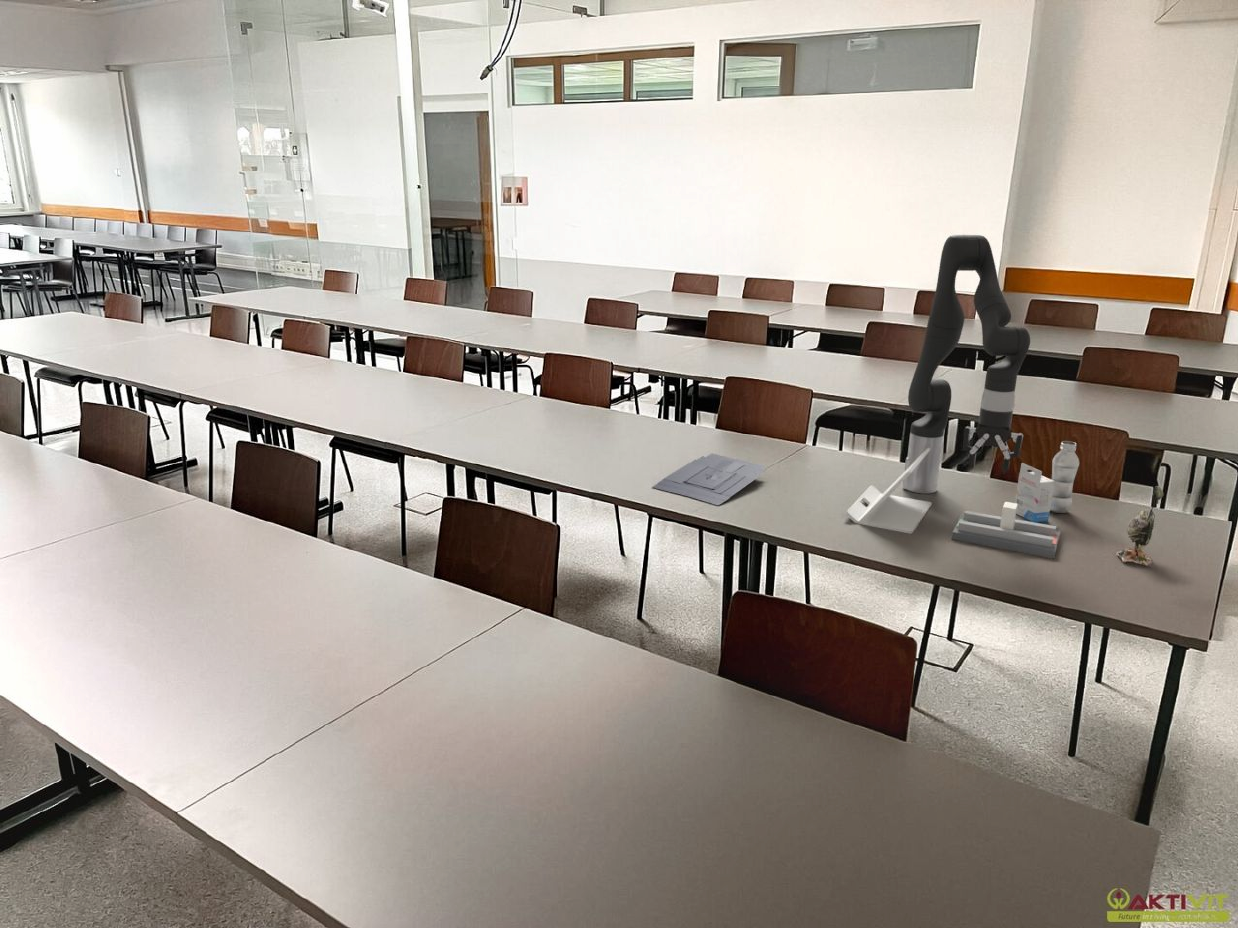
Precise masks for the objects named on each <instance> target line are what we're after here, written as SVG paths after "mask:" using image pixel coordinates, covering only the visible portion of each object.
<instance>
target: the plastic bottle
mask: <svg viewBox="0 0 1238 928" xmlns="http://www.w3.org/2000/svg"><path fill="white" fill-rule="evenodd" d="M1059 449H1060V450H1059V451H1058V452H1057V453H1056V454H1055V455H1054V457H1053V458H1052V461H1051V462H1052V469H1051V471H1052V472H1051V473H1052V474H1051V480H1053V481H1055V482H1054V488H1053V494H1052V500H1051V506H1050V512H1053V513H1058V514H1065V513H1066V514H1067V513H1068V512H1069V511H1071V507H1072V506H1073V497H1072V496H1073V486H1074V481H1075V477H1076V476H1077V471H1078V469H1079V467H1080V459H1079V457H1078V455H1077V454H1076V451H1077V443H1076V442H1074V441H1070V440H1069V441H1068V440H1063V441H1061V443H1060V446H1059Z"/></svg>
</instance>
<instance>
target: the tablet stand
mask: <svg viewBox="0 0 1238 928" xmlns="http://www.w3.org/2000/svg"><path fill="white" fill-rule="evenodd" d="M930 450H931V449H930V448H929V447H928V448H927V449H926V450H925V451H924V452H923V453H922V454H921V455H920V456H919V457H918V459H917V460H916V461H915V462H914V463H913V464H912V465H911V466H910V467H909V468H908V469H907V470H906V471H905V470H904V471H903V473H901V475H900V476H899V477H898V478H897V479H896V480H894V482H893V483H892V484H890V486H889V487H888V488H887V489H885V491H884V492H883V493H882V492H881V491H880V490H878V489H877V488H876V487H875V486H874V485H872V484H871V485H869V486H868V488H867V489H865V491H864V492H863V493H862V494H861V495H860V496H859V497H858V498H857V499H856V501H855V502H853V503H852V504H851V506H850V507H849V508H848V509H847V510H846V511H845V512H844V514H845V515H846V517H848V518H849V519H850V520H851V521H852V522H854V523H855V524H858V525H864V526H870V527H874V528H878V529H879V528H880V529H883V530H884V529H885V530H889V531H895V532H900V533H904V534H913V532H914V531H915V529H917V527H918V525H919V524H920V523H921V521H922V520H923V518H924V517H925V516H926V514H927V512H928V511H929V509H930V508H931V506H932V502H931V501H928V500H921V499H915V498H909V497H904V496H897V495H894V494H893V495H892V493H893V492H894V491H895V490H896V489H897V488H898V487H899V486H900V485H901V484H903V481H904V480H905V479H906V478H907V477H908V476H909V475H910V474H911V473H912V471H913V470H914V469H915V468H916V467H917V465H918V464H919V463H920V462H921V461H922V459H923V458H924V457H925V456H926V455H927V453H928V452H929V451H930ZM861 501H863V502H864V503H866V504H867V506H865V505H864V504H863V503H862V502H861Z"/></svg>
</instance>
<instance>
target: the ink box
mask: <svg viewBox="0 0 1238 928" xmlns="http://www.w3.org/2000/svg"><path fill="white" fill-rule="evenodd" d="M1020 464H1021V465H1020V471H1019V473H1018V480H1017V481H1018V482H1017V487H1016V488H1017V489H1016V493H1015V494H1016V495H1015V501H1014V503H1017V504H1018V506H1017V512H1016V515H1017V516H1020V517H1021V518H1023V519H1026V521H1028V522H1034V523H1043V522H1049V518H1050V512H1051V511H1050V506H1051V500H1052V494H1053V488H1054V482H1055V481H1053V480H1052V478H1048V477H1046V476H1044V475H1042V474H1043V471H1042V470H1040V469H1037V468H1035V467H1033V466H1031V465H1029V464H1026V463H1024V462H1022V463H1020ZM1029 471H1030V472H1029Z"/></svg>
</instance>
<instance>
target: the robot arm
mask: <svg viewBox="0 0 1238 928" xmlns="http://www.w3.org/2000/svg"><path fill="white" fill-rule="evenodd" d="M994 258H995V257H994V255H993V250H992V246H991V244H990V241H989V240H988V238H987V237H985V236H984V235H981V234H951V235H950V236H948V237H947V238H946V240H945V242H944V243H943V247H942V251H941V255H940V261H939V266H938V267H939V268H938V274H937V283H936V287H935V292H934V296H933V297H934V298H933V302H932V306H931V310H930V313H929V316H928V320H927V323H926V330H925V334H924V339H923V343H922V348H921V352H920V355H919V359H918V362H917V365H916V368H915V371H914V374H913V376H912V380H911V383H910V386H909V389H908V396H907V397H908V398H907V402H908V406H909V408H910V410H912V411H913V412H916V413H917V412H918V413H922V412H923V413H925V412H927V413H926V414H925V415H924V416H922V417H921V418H919V419H917V420H915V421H913V422H912V423H911V425H910V433H909V441H908V451H907V456H906V458H905V464H904V472H905V471H906V470H907V469H908V468H909V467H910V466H911V465H912V464H913V463H914V462H915V461H916V460H917V459H918V457H919V456H920V455H921V454H922V453H923V452H924V451H925V450H926V449H927V448H928V447H929V448H930V449H931V450H930V451H929V452H928V453H927V455H926V456H925V457H924V458H923V459H922V461H921V462H920V463H919V464H918V465H917V467H916V468H915V469H914V470H913V471H912V473H911V474H910V475H909V476H908V477H907V478H906V479H905V480H904V481H903V482H902V490H903V489H904V490H906V491H909V492H913V493H917V494H933V493H936V492H937V490H938V483H939V475H940V474H939V473H940V467H941V459H942V450H943V443H944V435H945V430H946V428H947V424H948V419H949V413H950V408H951V403H952V387H951V385H950V382H949V381H947V380H946V379H944V378H943V379H942V378H938V379H935V378H934V374H935V373H936V371H937V369H938V367H939V366H940V365H941V363H942V362H944V361H945V360H946V358H948V356H949V355H950V354H951V353H952V352H953V351H954V349H955V348H956V346H957V345H958V343H959V342H960V339H961V336H962V332H963V328H964V324H965V313H964V311H963V308H962V305H961V303H960V300H959V298H958V294H957V291H956V280H957V274H958V271H959V272H960V271H961V272H963V271H964V272H965V271H966V272H967V271H968V272H970V271H971V272H972V271H973V272H974V271H975V273H977V275H978V278H979V281H978V285H977V287H976V290H975V293H974V294H973V295H974V297H973V304H974V308H975V311H976V313H977V315H978V318H979V320H980V324H981V332H982V333H981V335H982V341H981V342H982V348H983V350H984V351H985V353H987V354H989V355H990V356H994V357H1004V356H1005V358H1004V359H1003V360H1002V361H1000V362H998V363H995V364H992V365H989V366H988V368H987V370H986V374H985V381H984V388H983V392H982V395H981V402H980V408H979V418H978V423H977V424H978V425H977V426H976V427H971V426H970V425H967V426H965V428H963V439H962V450H963V451H965V452H967V453H969V457H968V466H970V468H971V469H975V466H976V459H977V451H978V450H979V449H980V447H982V446H986V447H994V448H1000V451H1001V452H1002V454H1003V456H1004V458H1003V462H1002V467H1001V473H1002V474H1005V473H1006V472H1008V471H1009V469H1010V464H1011V460H1012V459H1018V458H1019V455H1020V453H1021V448H1022V444H1023V439H1024V433H1022V432H1019V433H1016V432H1012V430H1011V427H1012V421H1013V412H1014V408H1015V401H1016V400H1015V398H1016V396H1015V395H1016V394H1015V393H1016V385H1017V378H1018V374H1019V372H1020V370H1021V367H1022V364H1023V362H1024V360H1025V358H1026V356H1027V354H1028V351H1029V349H1030V346H1031V335H1030V333H1029V331H1028V329H1026V327H1023V326H1008V324H1009V323H1010V322H1011V320H1012V313H1011V310H1010V308H1009V306H1008V303H1007V301H1006V298H1005V297H1004V295H1003V293H1002V292H1003V291H1002V289H1001V286H1000V283H999V278H998V272H997V269H996V268H997V267H996V263H995V259H994ZM974 433H975V435H976V436H977V437H978V440H977V441H976V443H975V444H974V445H973V446H971V445H970V441H971V437H972V436H973V435H974ZM1010 438H1012V440H1013V442H1014V443H1015V446H1014V449H1013V451H1012V452H1011V450H1010V448H1009V446H1008V443H1007V441H1008V440H1009V439H1010Z"/></svg>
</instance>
